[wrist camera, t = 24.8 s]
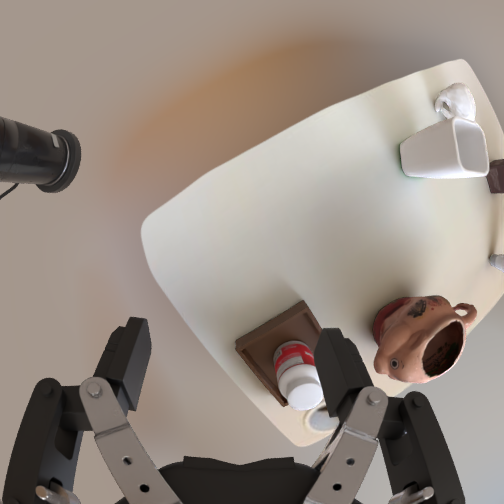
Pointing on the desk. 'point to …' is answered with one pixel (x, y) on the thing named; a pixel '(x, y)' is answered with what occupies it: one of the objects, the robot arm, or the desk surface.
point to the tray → (277, 343)
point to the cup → (446, 150)
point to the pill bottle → (297, 375)
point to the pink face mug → (420, 337)
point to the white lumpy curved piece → (457, 102)
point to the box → (496, 176)
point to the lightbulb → (497, 261)
